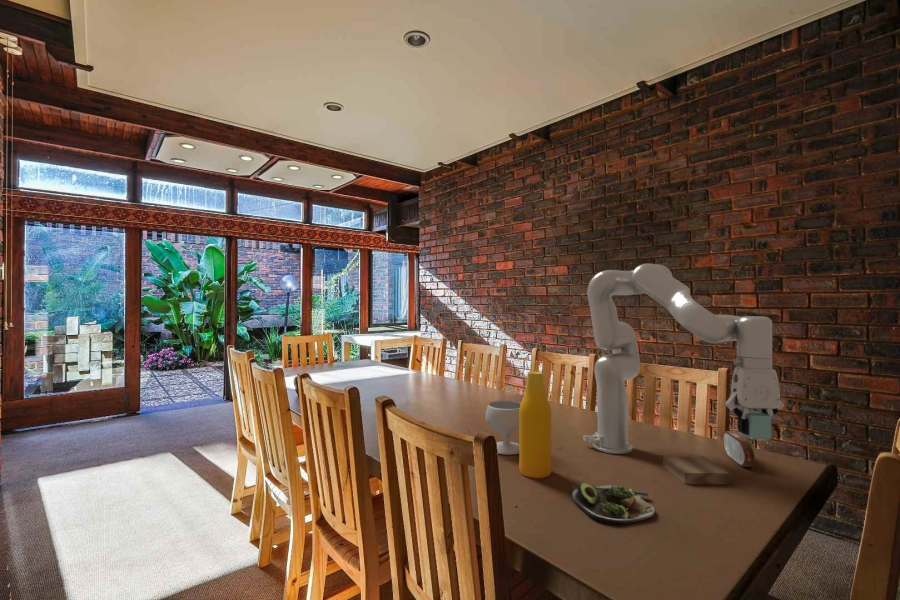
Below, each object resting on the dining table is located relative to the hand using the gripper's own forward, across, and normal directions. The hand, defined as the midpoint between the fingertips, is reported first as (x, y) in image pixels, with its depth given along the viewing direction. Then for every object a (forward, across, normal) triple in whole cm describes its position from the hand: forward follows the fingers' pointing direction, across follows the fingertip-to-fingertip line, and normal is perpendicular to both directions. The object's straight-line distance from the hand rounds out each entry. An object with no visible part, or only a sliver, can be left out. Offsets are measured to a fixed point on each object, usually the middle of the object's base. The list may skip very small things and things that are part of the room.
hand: (754, 432), depth 110 cm
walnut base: (+15, -10, +10) cm, 21 cm away
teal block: (+1, 0, 0) cm, 1 cm away
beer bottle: (+16, -55, +12) cm, 58 cm away
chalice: (+16, -61, +31) cm, 70 cm away
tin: (+16, +9, +20) cm, 27 cm away
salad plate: (+16, -41, -8) cm, 45 cm away
